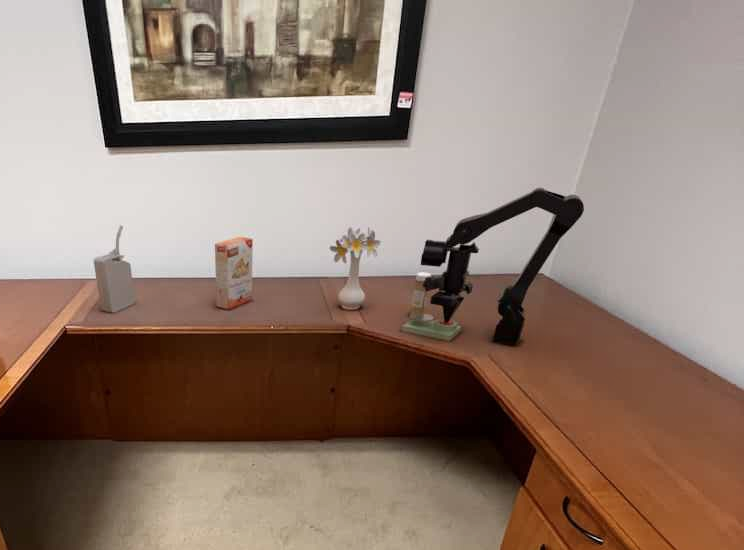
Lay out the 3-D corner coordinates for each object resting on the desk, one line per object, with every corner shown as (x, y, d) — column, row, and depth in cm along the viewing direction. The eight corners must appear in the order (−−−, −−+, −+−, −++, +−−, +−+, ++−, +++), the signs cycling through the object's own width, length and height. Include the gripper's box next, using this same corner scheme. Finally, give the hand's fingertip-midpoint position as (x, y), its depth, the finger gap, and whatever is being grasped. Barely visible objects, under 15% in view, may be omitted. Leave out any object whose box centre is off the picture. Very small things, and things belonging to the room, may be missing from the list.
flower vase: (320, 311, 190) (326, 231, 175) (346, 298, 201) (354, 222, 187) (354, 318, 183) (363, 236, 168) (379, 304, 195) (389, 226, 180)
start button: (452, 327, 170) (454, 321, 169) (448, 330, 168) (449, 324, 167) (441, 324, 172) (442, 319, 171) (437, 328, 170) (438, 322, 168)
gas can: (129, 299, 204) (119, 224, 189) (139, 301, 202) (130, 225, 187) (101, 311, 193) (88, 232, 178) (112, 313, 191) (100, 234, 176)
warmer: (460, 331, 172) (463, 320, 170) (449, 341, 166) (451, 329, 164) (414, 322, 180) (416, 311, 178) (401, 331, 173) (403, 319, 171)
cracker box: (229, 310, 192) (227, 245, 179) (215, 307, 195) (213, 243, 182) (253, 300, 201) (253, 237, 188) (240, 297, 204) (239, 235, 191)
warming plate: (437, 316, 173) (437, 315, 173) (428, 323, 169) (428, 322, 168) (415, 312, 177) (415, 311, 177) (405, 318, 172) (406, 317, 172)
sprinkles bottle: (426, 316, 184) (434, 274, 176) (417, 319, 182) (424, 276, 174) (416, 312, 187) (423, 271, 179) (406, 315, 185) (413, 273, 177)
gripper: (441, 257, 169) (432, 309, 179) (417, 271, 157) (408, 325, 167) (478, 262, 164) (466, 315, 173) (456, 276, 152) (445, 332, 161)
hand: (446, 322), depth 169 cm, fingers closed, pressing on start button
